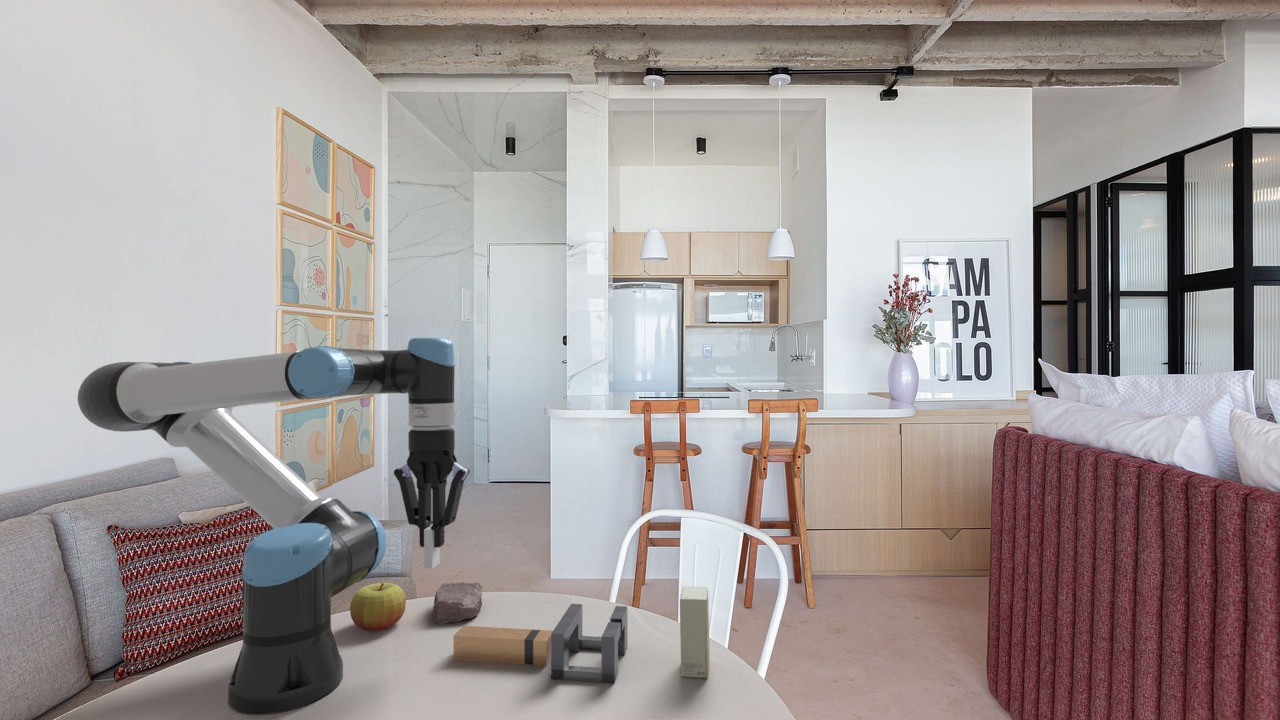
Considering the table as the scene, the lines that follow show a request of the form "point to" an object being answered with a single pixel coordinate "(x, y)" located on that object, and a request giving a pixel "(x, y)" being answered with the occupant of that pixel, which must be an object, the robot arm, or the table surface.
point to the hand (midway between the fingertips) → (432, 565)
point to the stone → (457, 602)
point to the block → (503, 645)
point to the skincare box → (694, 632)
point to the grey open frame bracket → (588, 646)
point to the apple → (377, 606)
